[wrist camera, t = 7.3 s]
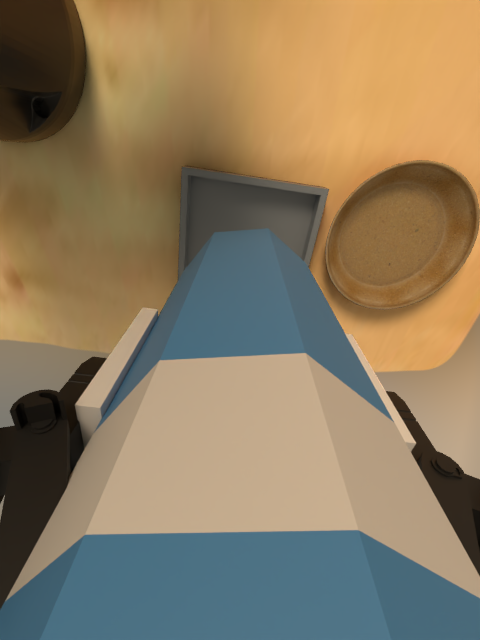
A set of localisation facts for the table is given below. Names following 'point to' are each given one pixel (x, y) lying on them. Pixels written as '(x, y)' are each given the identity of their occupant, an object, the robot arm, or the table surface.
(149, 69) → the table surface
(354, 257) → the plant saucer
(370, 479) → the water bottle
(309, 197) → the tray
